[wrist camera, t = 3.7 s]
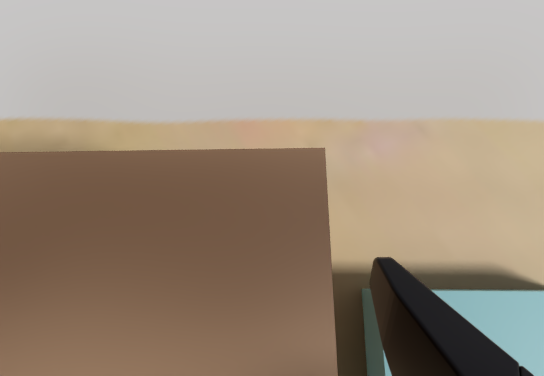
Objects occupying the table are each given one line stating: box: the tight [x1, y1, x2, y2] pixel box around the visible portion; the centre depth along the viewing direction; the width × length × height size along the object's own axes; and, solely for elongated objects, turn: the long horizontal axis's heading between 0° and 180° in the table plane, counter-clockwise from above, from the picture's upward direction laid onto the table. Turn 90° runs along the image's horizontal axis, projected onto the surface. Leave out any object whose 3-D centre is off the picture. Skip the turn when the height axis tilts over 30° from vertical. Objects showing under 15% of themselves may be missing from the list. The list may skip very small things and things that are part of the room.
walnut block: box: [0, 148, 338, 376], centre depth 10 cm, size 6×6×11 cm
